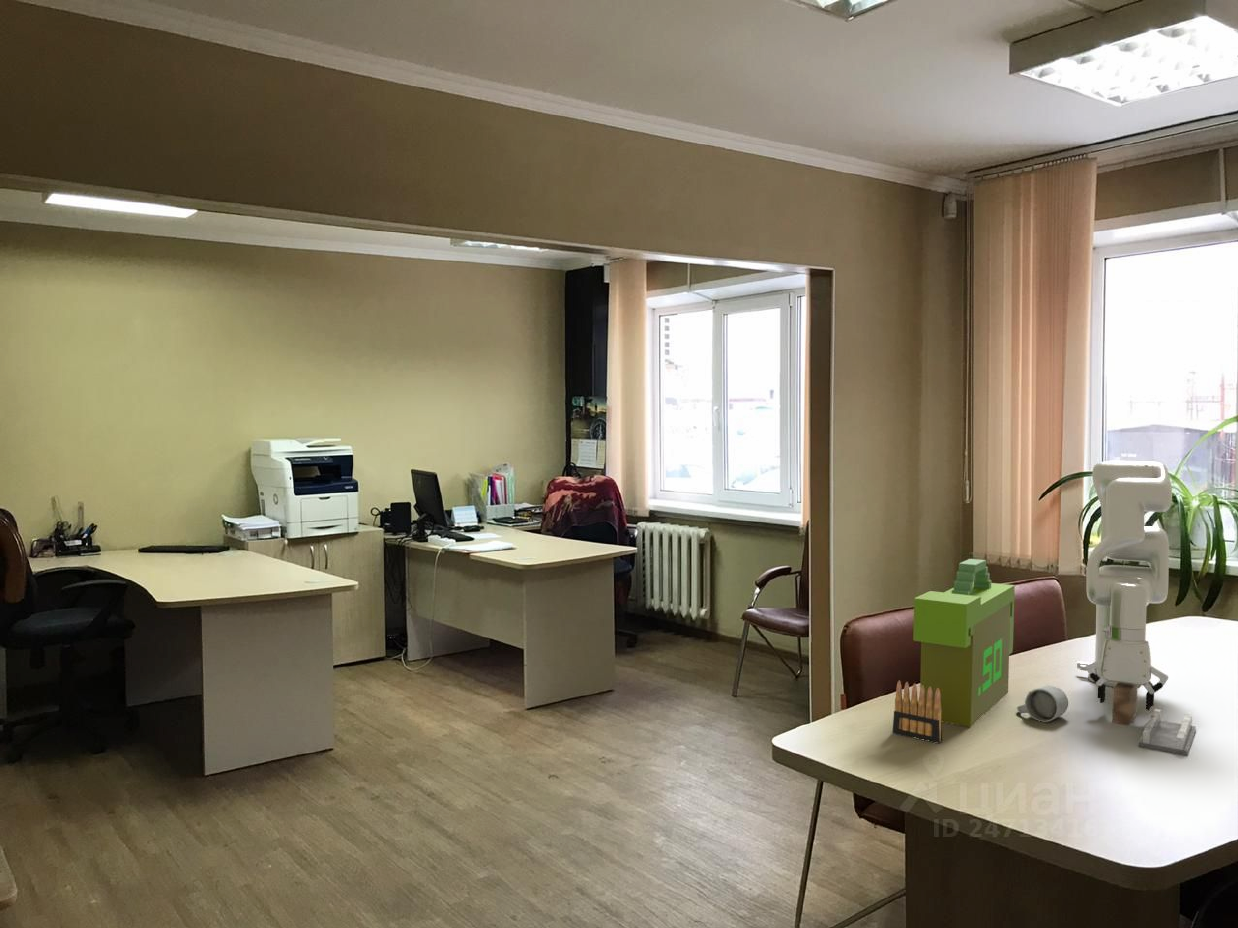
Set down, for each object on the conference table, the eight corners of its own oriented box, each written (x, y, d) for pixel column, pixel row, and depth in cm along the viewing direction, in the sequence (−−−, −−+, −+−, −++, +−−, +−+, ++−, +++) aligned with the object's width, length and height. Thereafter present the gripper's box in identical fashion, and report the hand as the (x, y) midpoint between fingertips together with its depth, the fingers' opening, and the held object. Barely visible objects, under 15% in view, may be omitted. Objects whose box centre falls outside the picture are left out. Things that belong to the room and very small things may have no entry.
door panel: (1112, 722, 220) (1113, 689, 220) (1120, 710, 230) (1121, 677, 230) (1129, 725, 218) (1130, 691, 218) (1136, 712, 228) (1137, 680, 228)
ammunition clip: (942, 741, 206) (943, 687, 206) (939, 743, 205) (940, 689, 204) (895, 730, 213) (896, 678, 213) (892, 732, 212) (893, 680, 211)
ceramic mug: (1070, 717, 224) (1070, 685, 223) (1057, 725, 218) (1058, 692, 218) (1024, 708, 231) (1025, 677, 231) (1011, 716, 225) (1011, 684, 225)
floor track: (1138, 746, 204) (1139, 730, 204) (1150, 722, 220) (1151, 708, 220) (1187, 755, 199) (1187, 739, 199) (1195, 730, 215) (1196, 715, 215)
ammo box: (963, 734, 211) (967, 578, 210) (911, 724, 218) (914, 572, 216) (1011, 688, 248) (1015, 555, 246) (965, 681, 255) (969, 551, 253)
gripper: (1084, 631, 225) (1082, 702, 226) (1167, 642, 215) (1165, 716, 216) (1090, 626, 231) (1087, 695, 232) (1171, 636, 221) (1168, 708, 222)
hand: (1125, 705), depth 224 cm, fingers open, 9 cm apart
